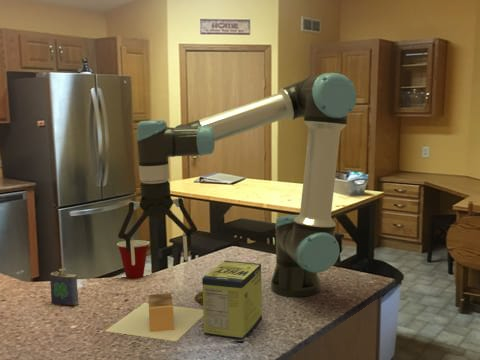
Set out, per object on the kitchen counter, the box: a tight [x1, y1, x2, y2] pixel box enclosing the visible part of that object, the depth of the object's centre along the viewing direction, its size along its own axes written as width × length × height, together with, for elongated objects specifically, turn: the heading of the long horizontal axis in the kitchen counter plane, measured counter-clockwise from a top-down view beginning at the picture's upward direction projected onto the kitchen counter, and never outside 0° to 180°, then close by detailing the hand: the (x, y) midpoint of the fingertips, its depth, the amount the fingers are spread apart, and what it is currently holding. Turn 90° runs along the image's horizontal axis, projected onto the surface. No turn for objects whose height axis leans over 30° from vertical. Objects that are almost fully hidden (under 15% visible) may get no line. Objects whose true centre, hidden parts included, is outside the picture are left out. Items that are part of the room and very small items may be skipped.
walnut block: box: [148, 292, 174, 332], centre depth 136 cm, size 6×6×10 cm
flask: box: [49, 268, 79, 307], centre depth 154 cm, size 9×3×11 cm, turn 68°
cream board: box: [104, 302, 204, 342], centre depth 139 cm, size 20×20×1 cm
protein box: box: [201, 260, 263, 344], centre depth 134 cm, size 10×16×16 cm
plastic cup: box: [116, 239, 150, 280], centre depth 178 cm, size 11×11×12 cm
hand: (159, 261), depth 138 cm, fingers open, 13 cm apart
